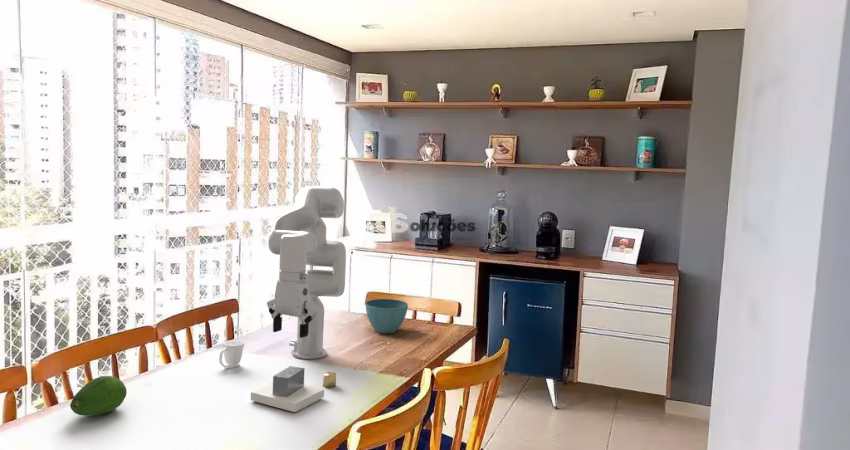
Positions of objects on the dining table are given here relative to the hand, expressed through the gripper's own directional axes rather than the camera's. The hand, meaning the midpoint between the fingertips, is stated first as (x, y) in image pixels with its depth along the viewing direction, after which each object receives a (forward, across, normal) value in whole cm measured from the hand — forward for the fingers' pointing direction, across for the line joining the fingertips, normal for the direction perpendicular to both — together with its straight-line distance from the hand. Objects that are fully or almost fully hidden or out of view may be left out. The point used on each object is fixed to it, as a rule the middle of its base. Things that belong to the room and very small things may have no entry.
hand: (290, 333), depth 181 cm
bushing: (+20, -3, -17) cm, 26 cm away
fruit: (+20, +35, +36) cm, 54 cm away
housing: (+17, 0, 0) cm, 17 cm away
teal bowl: (+21, +16, -86) cm, 90 cm away
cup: (+20, +35, -13) cm, 42 cm away
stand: (+20, 0, 0) cm, 20 cm away
